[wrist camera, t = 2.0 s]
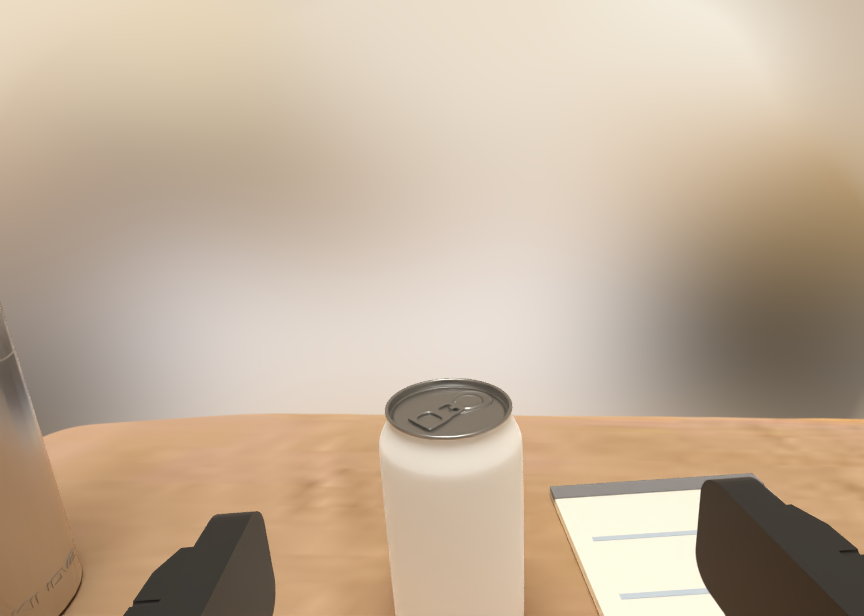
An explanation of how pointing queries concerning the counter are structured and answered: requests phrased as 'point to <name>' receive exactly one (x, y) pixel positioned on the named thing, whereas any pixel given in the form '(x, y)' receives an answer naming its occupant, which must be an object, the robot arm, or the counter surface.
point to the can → (453, 500)
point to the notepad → (638, 544)
